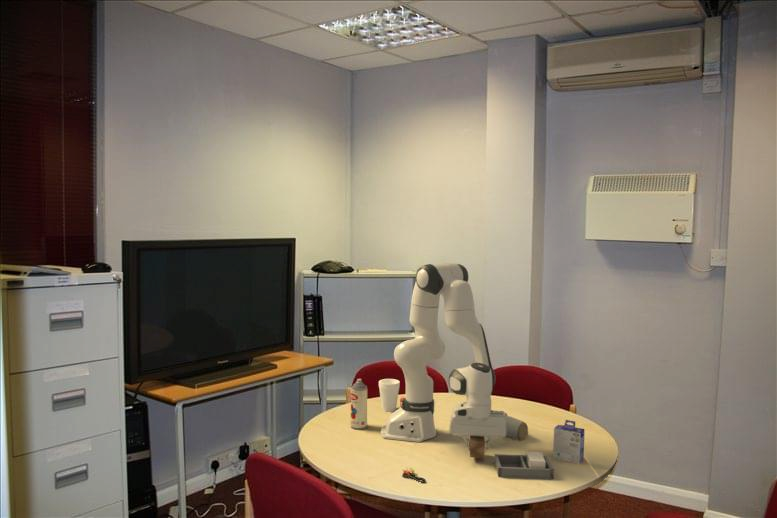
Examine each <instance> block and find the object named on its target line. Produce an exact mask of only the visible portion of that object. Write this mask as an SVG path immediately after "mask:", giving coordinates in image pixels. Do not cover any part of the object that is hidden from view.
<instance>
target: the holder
mask: <svg viewBox="0 0 777 518" xmlns="http://www.w3.org/2000/svg"><path fill="white" fill-rule="evenodd" d="M543 457H544V459H545V461H546V462H545V468H527V467H526V454H525V455H524V454H502V453H497V454H496V453H494V457H493V458H494V461H493V462H494V467H495V471H496V473H497V477H498V478H520V479H539V480H540V479H541V480H544V479H546V480H553V479H554V475H555V473H554V471H555V470H554V468H553V466H552V464H551V462H550V460H549V459H548V457H547V455H543Z"/></svg>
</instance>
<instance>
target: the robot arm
mask: <svg viewBox="0 0 777 518" xmlns="http://www.w3.org/2000/svg"><path fill="white" fill-rule="evenodd" d="M441 296H442V298H443V302H444V303H443V304H444V307H443V308H444V320H445V323H446V327H448V329H449V330H450V331H452V333H455V334H456V335H458V336H462V337H465V338H466V339H467V340H469V342H470V344H471V347H472V351H473V355H474V361H475V362H473V363H470V364H469V365H468V366H465V367H464V366H463V367H459V368H455V369H453V370H451V371H450V373H449V377H448V386H449V389H450V390H451V392H453V394H455V395H459V396H465V397H466V400H465V401H464V402H461V403H456V404H455V405H454V406H453V413H452V414H451V416H450V419H449V428H448V431H449V434H450V435H455V436H462V438H463V440H464V442H465V448H469V447H470V441H469V440H468V439H467V438H468V437H470V436H483V437H484V438H486V437H487V440H486V441H485V450H486V449H487V450H488V449H489V444H490V443H491V441H492V439H493V438H499V439H500V438H503V439H504V438H505V437H507V436H506V423H507V421H508V416H509V415H508V414H507V413H506V412H505V411H504V410H493V409H492V399H491V398H492V397H491V396H492V392H493V388H494V386H495V384H496V380H497V379H496V373H495V371H494V368H493V365H492V362H491V357H490V352H489V348H488V342H487V337H486V333H485V330H484V327H483V325H482V324H481V323H480V322H479V320H478V319H477V316H476V312H475V299H474V294H473V291H472V287H471V284H470V283H469V273H468V269H467V267H465V266H464V265H462V264H460V263H456V262H453V263H451V262H450V263H449V262H440V263H433V264H432V263H428V264H424V265H422V266H420V267H418V269H417V271H416V273H415V284H414V286H413V290H412V295H411V303H410V311H409V319H408V320H409V323H410V325H411V326H412V327H413V329H414V332H415V336H414V338H411V339H408V340H405V341H402V342H400V343H399V344H398V345H396V347H395V348H394V351H393V358H394V361H395V363H396V364H397V366H398V367H400V369H401V370H402V372H403V375H404V382H405V397H404V396H401V397H400V398H399V402H400V407H399V408H398V409H396V411H394V412H391V414H390V415H389V416H388V417H387V420H386V424H385V425H383V426H382V427H381V428H380V436H381V438H383V439H385V440H387V439H388V440H398V441H405V442H416V443H421V442H423V441H425V440H429V439H433V438H435V437H436V436H437V430H436V425H435V420H434V418H435V417H434V415H435V414H434V413H435V399H434V380H433V378H432V377H431V376H429V375H428V371H427V365H428V364H432V363H435V362H437V361H438V360H439V359H440V360H441V358H442V357H443V356H444V355H445V351H446V346H445V342H444V340H443V339H442V338H441V337H440V333H439V328H438V320H439V309H440V307H439V306H440V297H441Z"/></svg>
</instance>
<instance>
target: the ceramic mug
mask: <svg viewBox="0 0 777 518" xmlns="http://www.w3.org/2000/svg"><path fill="white" fill-rule="evenodd" d="M528 434H529V427H528V424H527V423H526V422H524V421H523V420H520V419H517V418H515V417H512V416H509V415H508V421H507V423H506V436H505V437H509V438H513V439H516V440H524V439H525V438H526V437H527V435H528Z"/></svg>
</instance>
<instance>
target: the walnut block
mask: <svg viewBox="0 0 777 518" xmlns="http://www.w3.org/2000/svg"><path fill="white" fill-rule="evenodd" d="M485 438H486V437H483V436H469V438H468V439H469V440H468V441H470V447H468V451H469V457H470V458H474V459H476V458H477V459H485V454H486V453H485V452H486V448H485V442H486V439H485Z"/></svg>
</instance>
